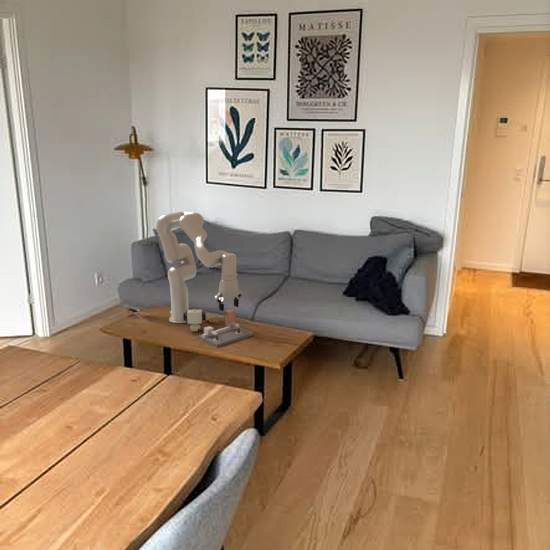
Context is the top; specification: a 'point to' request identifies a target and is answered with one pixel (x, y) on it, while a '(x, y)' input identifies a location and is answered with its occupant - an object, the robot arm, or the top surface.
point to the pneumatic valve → (194, 318)
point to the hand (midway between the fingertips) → (228, 308)
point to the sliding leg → (231, 319)
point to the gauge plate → (224, 335)
